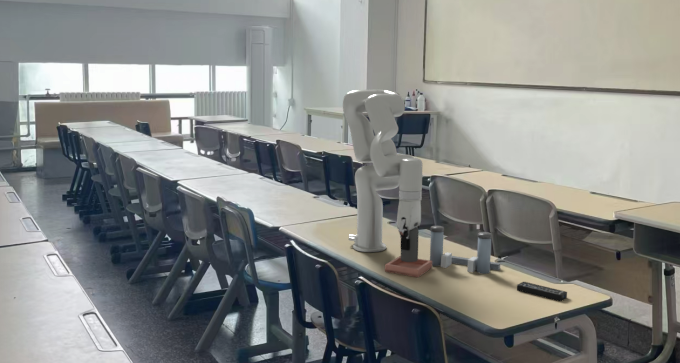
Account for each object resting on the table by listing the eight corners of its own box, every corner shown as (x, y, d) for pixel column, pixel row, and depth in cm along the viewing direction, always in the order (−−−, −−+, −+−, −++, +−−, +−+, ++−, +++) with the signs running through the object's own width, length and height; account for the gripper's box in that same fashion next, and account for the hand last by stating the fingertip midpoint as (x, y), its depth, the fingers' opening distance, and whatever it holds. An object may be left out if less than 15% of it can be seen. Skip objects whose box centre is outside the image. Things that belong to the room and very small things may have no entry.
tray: (385, 271, 230) (385, 264, 229) (400, 262, 240) (400, 255, 240) (417, 277, 224) (418, 270, 223) (431, 267, 234) (432, 260, 234)
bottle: (417, 262, 228) (418, 219, 225) (399, 261, 229) (400, 218, 226) (418, 258, 234) (419, 215, 231) (401, 257, 235) (402, 214, 232)
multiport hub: (523, 288, 215) (523, 281, 215) (567, 299, 205) (567, 291, 205) (516, 291, 212) (516, 284, 211) (560, 302, 202) (561, 295, 202)
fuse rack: (422, 264, 238) (423, 227, 236) (432, 258, 246) (433, 222, 243) (492, 275, 226) (494, 236, 224) (500, 268, 233) (501, 231, 231)
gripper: (410, 189, 237) (409, 240, 240) (388, 198, 222) (388, 251, 225) (430, 192, 233) (429, 243, 236) (410, 200, 218) (408, 255, 221)
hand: (409, 246), depth 231 cm, fingers closed on bottle, 5 cm apart
